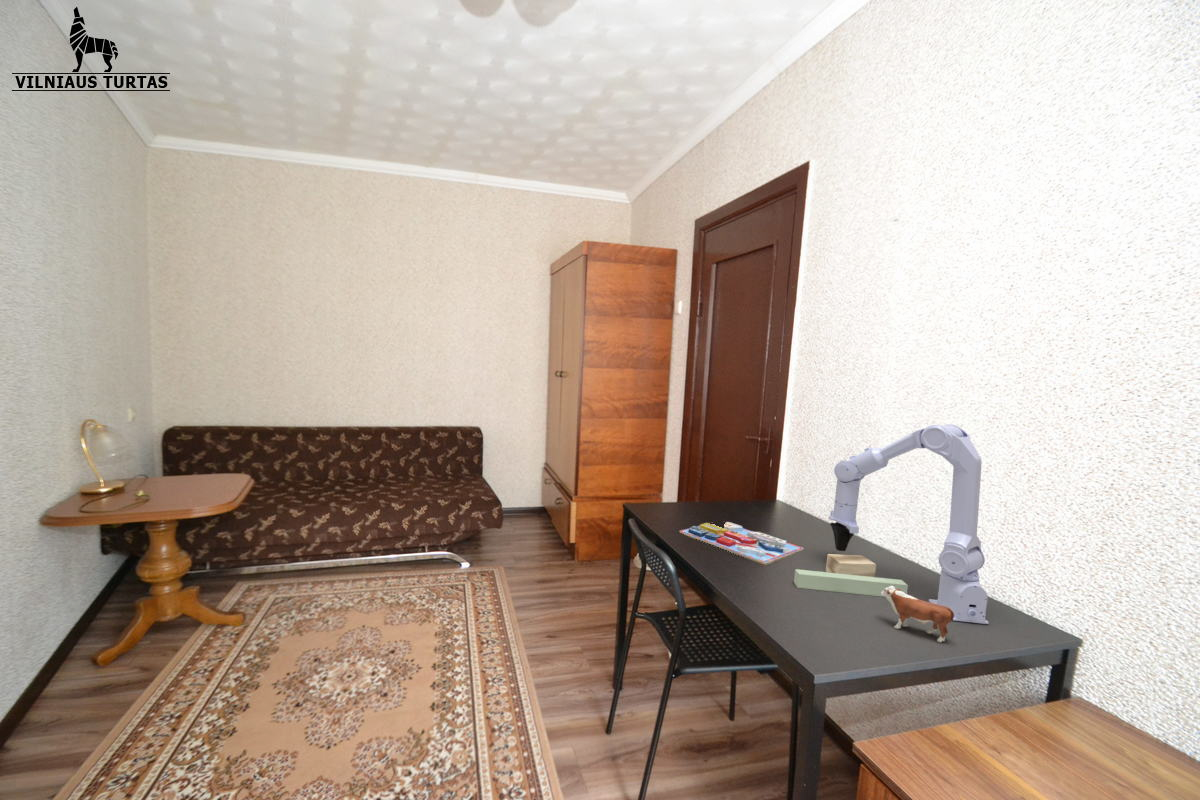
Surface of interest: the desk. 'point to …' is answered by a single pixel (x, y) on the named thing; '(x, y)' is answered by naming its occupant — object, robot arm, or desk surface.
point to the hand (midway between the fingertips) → (840, 550)
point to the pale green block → (845, 582)
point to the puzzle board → (744, 542)
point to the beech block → (850, 565)
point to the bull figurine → (918, 611)
